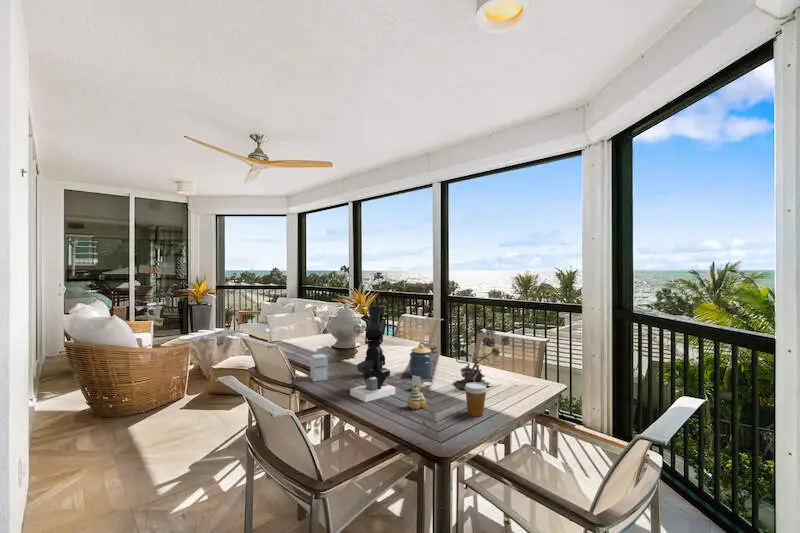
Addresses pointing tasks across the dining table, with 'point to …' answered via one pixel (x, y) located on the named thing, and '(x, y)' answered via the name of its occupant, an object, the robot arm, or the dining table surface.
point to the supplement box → (318, 367)
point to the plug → (371, 384)
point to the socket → (372, 392)
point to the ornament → (416, 399)
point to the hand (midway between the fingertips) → (373, 387)
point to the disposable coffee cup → (475, 398)
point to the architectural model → (417, 383)
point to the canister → (421, 362)
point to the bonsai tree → (473, 374)
